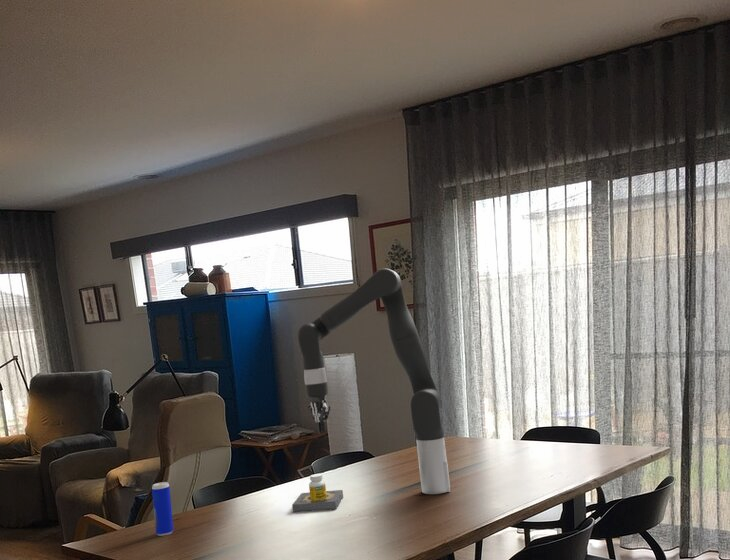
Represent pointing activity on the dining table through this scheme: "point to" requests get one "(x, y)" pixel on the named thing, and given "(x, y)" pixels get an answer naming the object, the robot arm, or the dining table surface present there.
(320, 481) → the supplement bottle
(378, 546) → the dining table surface
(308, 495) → the mount plate
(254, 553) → the dining table surface
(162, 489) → the beverage can
